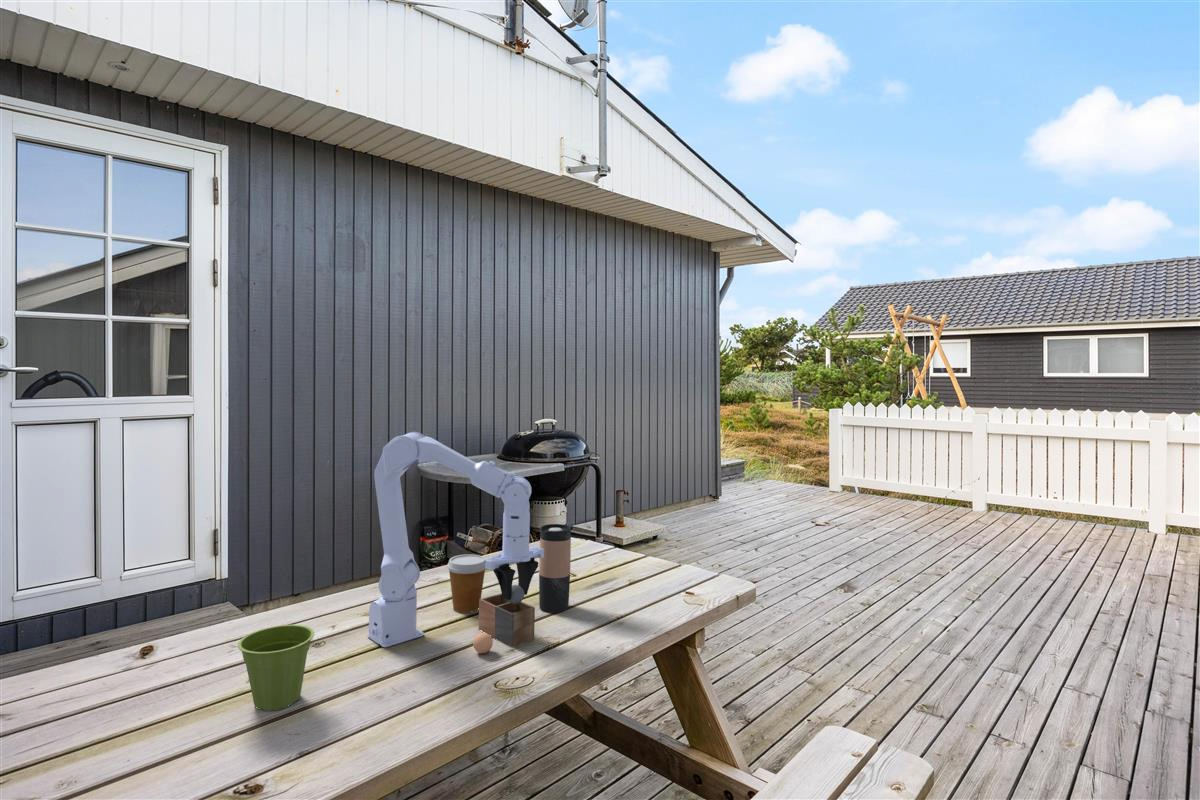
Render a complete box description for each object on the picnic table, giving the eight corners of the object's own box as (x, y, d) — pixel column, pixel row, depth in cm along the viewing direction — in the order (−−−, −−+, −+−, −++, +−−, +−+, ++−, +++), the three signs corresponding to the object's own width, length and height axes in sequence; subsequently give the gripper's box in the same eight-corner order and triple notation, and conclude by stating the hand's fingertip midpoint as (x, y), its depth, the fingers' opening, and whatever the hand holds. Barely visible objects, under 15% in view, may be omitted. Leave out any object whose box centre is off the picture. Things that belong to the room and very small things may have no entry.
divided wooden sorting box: (511, 647, 136) (512, 614, 136) (478, 630, 145) (479, 599, 144) (534, 639, 141) (534, 607, 140) (500, 623, 149) (501, 593, 149)
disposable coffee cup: (464, 618, 151) (465, 568, 151) (438, 608, 157) (439, 559, 156) (494, 607, 159) (495, 559, 158) (468, 598, 164) (469, 551, 164)
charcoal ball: (513, 608, 138) (513, 590, 137) (501, 603, 140) (502, 585, 140) (528, 603, 140) (528, 585, 140) (516, 598, 143) (516, 580, 143)
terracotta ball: (480, 658, 131) (480, 639, 130) (469, 652, 133) (469, 633, 133) (496, 652, 134) (496, 633, 133) (485, 646, 136) (485, 628, 136)
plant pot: (294, 678, 121) (294, 618, 120) (326, 700, 113) (327, 636, 113) (225, 702, 112) (225, 638, 111) (255, 727, 104) (256, 659, 103)
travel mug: (571, 603, 163) (573, 524, 162) (566, 614, 155) (568, 532, 154) (541, 601, 164) (543, 523, 163) (535, 612, 156) (537, 530, 155)
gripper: (500, 543, 132) (498, 609, 132) (553, 532, 142) (552, 593, 143) (479, 536, 137) (478, 600, 137) (533, 526, 147) (531, 585, 148)
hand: (514, 596), depth 140 cm, fingers closed on charcoal ball, 4 cm apart
